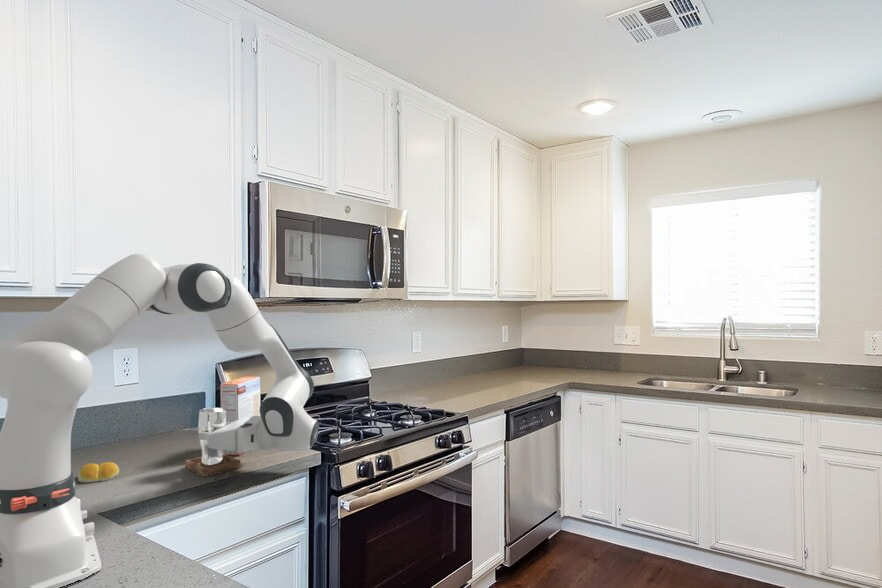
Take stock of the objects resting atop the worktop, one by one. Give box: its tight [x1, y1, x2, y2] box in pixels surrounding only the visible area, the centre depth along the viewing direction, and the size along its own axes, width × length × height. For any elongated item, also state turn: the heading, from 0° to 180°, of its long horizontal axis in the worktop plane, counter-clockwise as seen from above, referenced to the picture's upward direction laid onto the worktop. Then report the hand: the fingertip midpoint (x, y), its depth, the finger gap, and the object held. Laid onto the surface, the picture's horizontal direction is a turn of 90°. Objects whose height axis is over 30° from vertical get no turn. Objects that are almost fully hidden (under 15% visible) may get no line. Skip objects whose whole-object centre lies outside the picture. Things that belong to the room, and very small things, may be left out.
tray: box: [184, 453, 242, 477], centre depth 151 cm, size 11×10×2 cm
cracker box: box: [219, 376, 261, 456], centre depth 168 cm, size 14×6×21 cm, turn 171°
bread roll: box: [77, 461, 120, 484], centre depth 143 cm, size 8×9×4 cm
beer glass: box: [197, 407, 226, 468], centre depth 150 cm, size 7×7×15 cm
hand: (209, 430), depth 151 cm, fingers open, 8 cm apart
